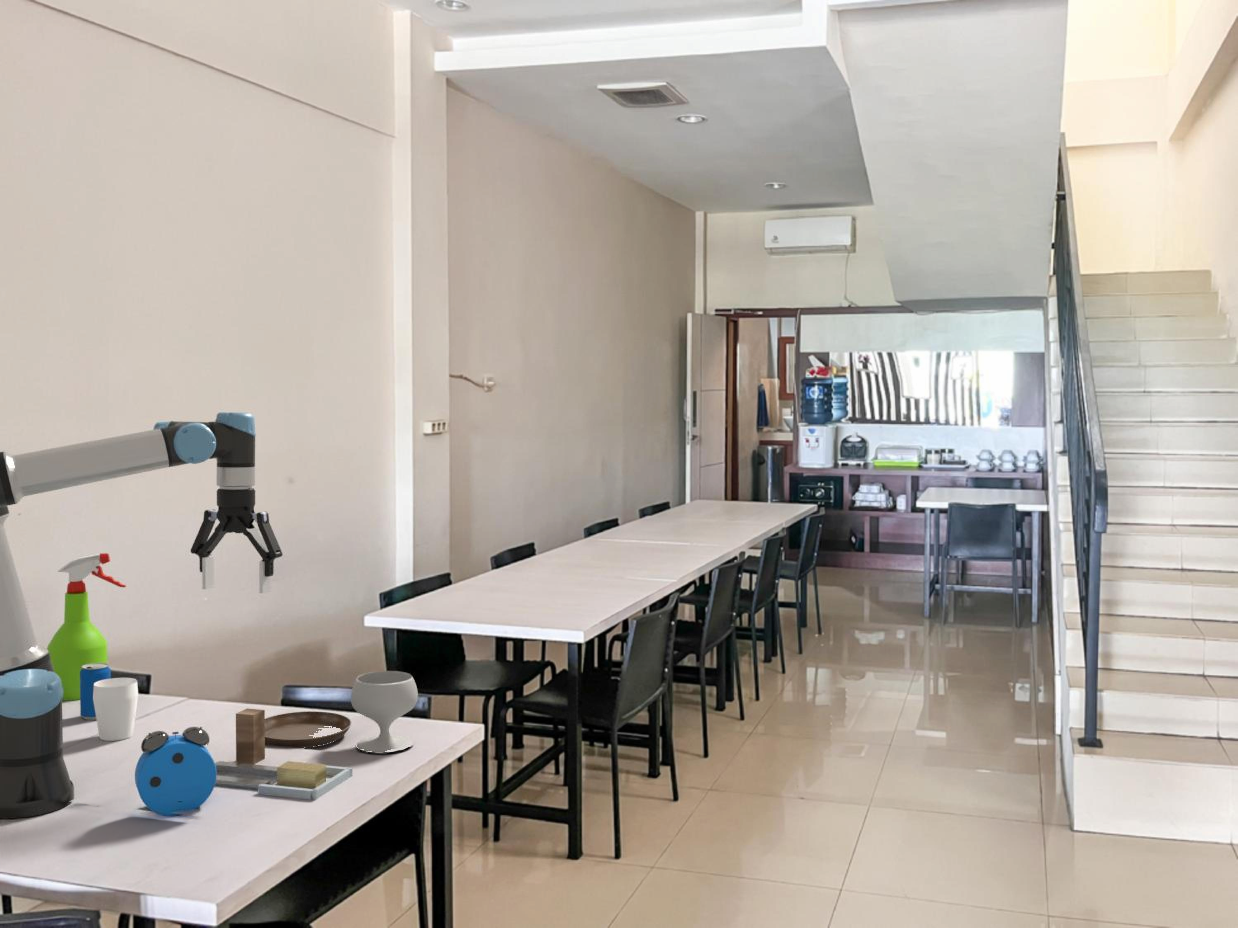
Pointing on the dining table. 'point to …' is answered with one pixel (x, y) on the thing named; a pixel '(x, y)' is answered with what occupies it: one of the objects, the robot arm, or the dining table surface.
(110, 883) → the dining table surface
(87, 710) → the beverage can
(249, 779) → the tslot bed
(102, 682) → the cup
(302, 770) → the chip
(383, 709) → the chalice
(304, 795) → the tray
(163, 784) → the alarm clock
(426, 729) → the dining table surface
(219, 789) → the dining table surface
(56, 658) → the spray bottle
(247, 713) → the brown wooden block
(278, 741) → the plant saucer
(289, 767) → the chip
